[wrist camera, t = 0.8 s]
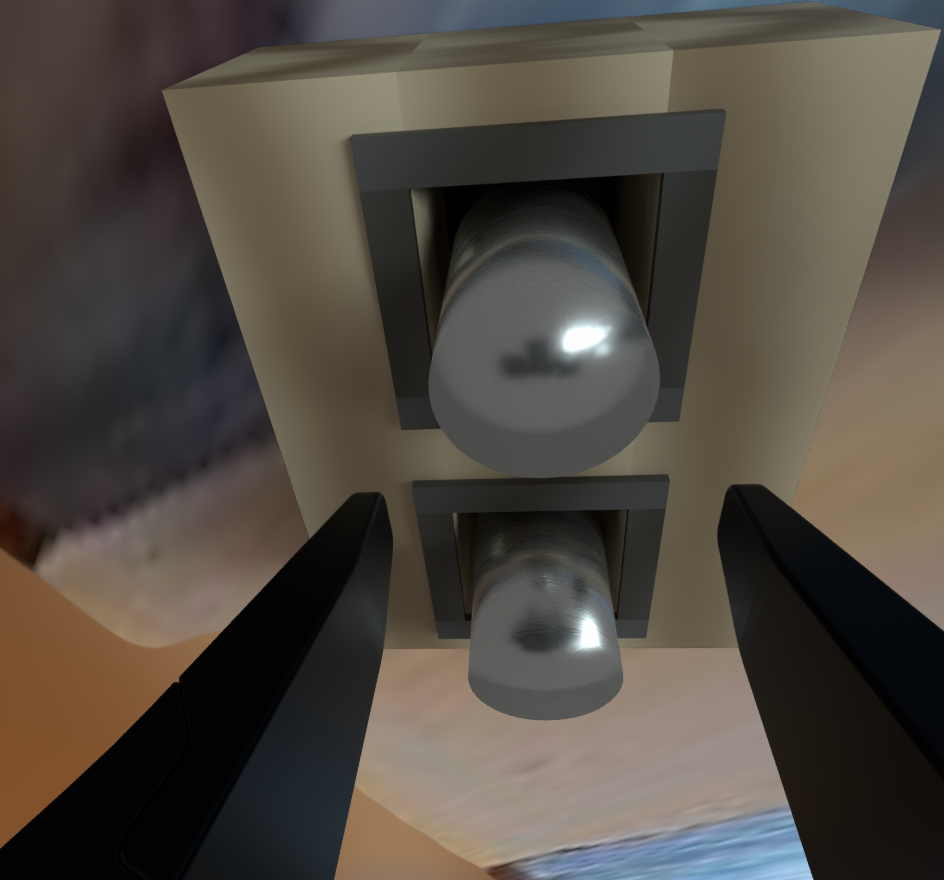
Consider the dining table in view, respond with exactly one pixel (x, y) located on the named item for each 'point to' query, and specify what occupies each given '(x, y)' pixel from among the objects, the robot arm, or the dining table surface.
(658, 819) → the dining table surface
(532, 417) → the peg
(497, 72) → the jig block
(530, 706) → the peg
